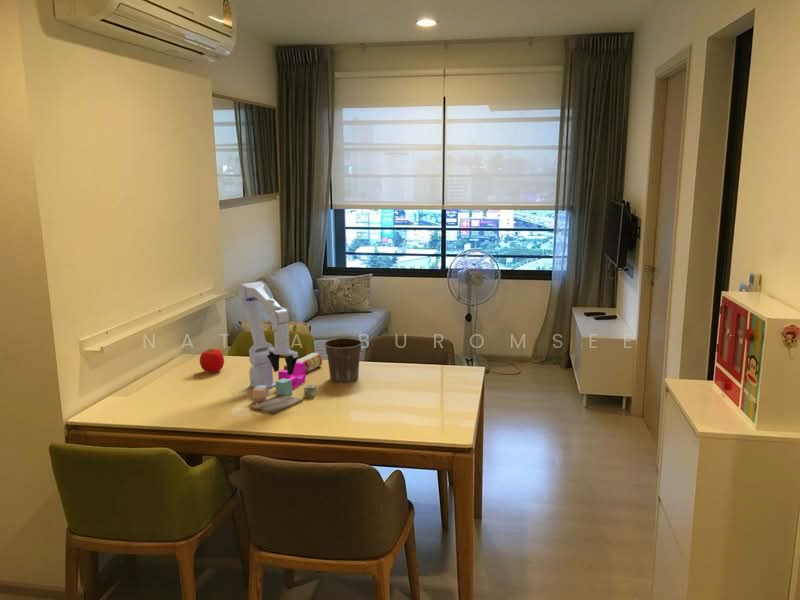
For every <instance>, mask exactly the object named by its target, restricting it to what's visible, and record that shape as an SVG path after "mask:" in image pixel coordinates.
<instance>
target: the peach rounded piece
mask: <svg viewBox="0 0 800 600" xmlns="http://www.w3.org/2000/svg"><path fill="white" fill-rule="evenodd" d="M252 399H253V400H252V401H253V404H255V403H260V402H263V401H265V400H267V396H266V388H263V387H259V388H255V387H253V389H252Z"/></svg>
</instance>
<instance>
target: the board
mask: <svg viewBox="0 0 800 600" xmlns="http://www.w3.org/2000/svg"><path fill="white" fill-rule="evenodd" d="M303 401H304V400H303V398H299V397H296V396H295V397H294V396H291V395H289V396H286V395H281V394H279V395H277V396H276V395H275V396H272V397H270V398H268V399H267V398H266V400H265V401H263V402H260V403H258V404H255V403H254V405H251V406H250V410H252V409H254V410H253V411H256V410H258V411H257V412H261V411H262V413H265V412H266V413H265V414H269V413H270V415H273V414H274V415H277V414H279V413H281V412H283V411H285V410H288V409H290V408H292V407H294V406H297V405H299V404H300V402H301V403H303ZM293 405H294V406H293ZM291 406H292V407H291ZM289 407H290V408H289ZM287 408H288V409H287ZM282 410H283V411H282ZM280 411H281V412H280ZM278 412H279V413H278ZM276 413H277V414H276Z"/></svg>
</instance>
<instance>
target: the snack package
mask: <svg viewBox="0 0 800 600" xmlns="http://www.w3.org/2000/svg"><path fill="white" fill-rule="evenodd" d="M296 362H305V374H307V373H308V372H311V371H313V370H315V369H317V367H318V368H320V367H322V364H323V357H322V354H320V353H319V352H311V353H310V354H309V353H308V354H307V355H305V356H303V357H301V358H298V359H297V361H296ZM283 370H288V369H287V364H285V365H284V366H283ZM291 375H292V374H291Z"/></svg>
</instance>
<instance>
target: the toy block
mask: <svg viewBox="0 0 800 600" xmlns="http://www.w3.org/2000/svg"><path fill="white" fill-rule="evenodd" d="M306 374H307V373H305V362H296V363H295V367H294V371H293V374H292V375H288V370H284V369H281V370H280V369H279V371H277V375H278V378H277V379H278V380H280V379H282V378H284V379H289V380H291V381H292V391H293V390H294V388H295V389H296V388H298V387H300V386H302V385H303V384H305V383H306V379H305V378H307V376H306ZM304 382H305V383H304ZM302 383H303V384H302ZM301 384H302V385H301ZM299 385H300V386H299Z"/></svg>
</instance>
